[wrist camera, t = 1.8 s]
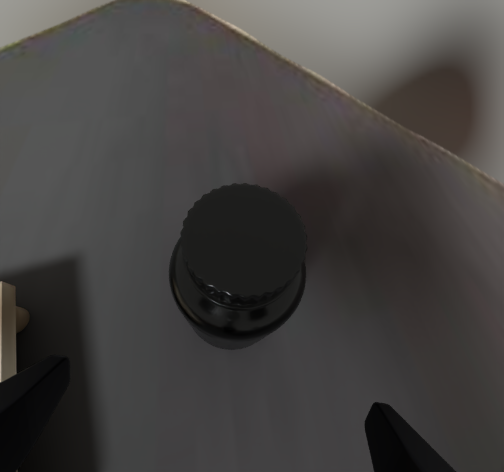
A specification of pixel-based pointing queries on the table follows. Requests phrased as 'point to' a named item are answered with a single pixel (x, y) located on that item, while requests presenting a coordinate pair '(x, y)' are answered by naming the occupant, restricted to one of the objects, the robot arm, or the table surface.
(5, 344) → the small stand
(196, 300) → the supplement bottle
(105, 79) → the table surface
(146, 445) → the table surface
